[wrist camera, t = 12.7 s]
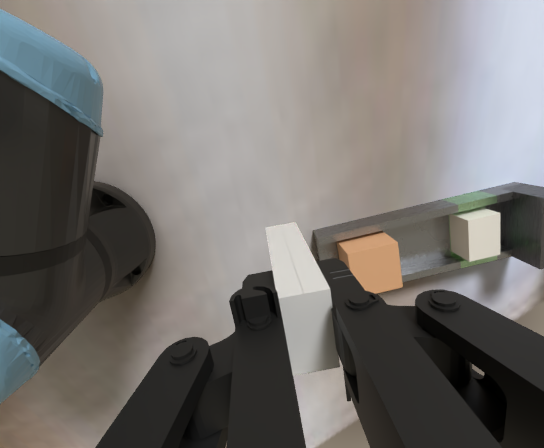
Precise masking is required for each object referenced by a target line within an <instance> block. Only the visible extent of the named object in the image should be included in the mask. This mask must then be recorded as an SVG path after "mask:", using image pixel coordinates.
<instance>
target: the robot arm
mask: <svg viewBox="0 0 544 448" xmlns="http://www.w3.org/2000/svg"><path fill="white" fill-rule="evenodd" d="M102 102H103V84H102V81H101V78H100V76H99V74H98V72H97V71H96V69H95V68H94V67H93V66H92V65H91V64H90V62H88V61H87V60H86V59H85V58H84V57H82V56H81V55H80V54H78V53H77V52H75V51H74V50H73V49H71V48H70V47H68V46H66V45H65V44H63V43H62V42H60V41H58V40H57V39H55V38H53V37H51V36H50V35H48V34H46V33H44V32H43V31H41V30H39V29H37V28H35V27H34V26H32V25H30V24H28V23H26V22H25V21H23V20H21V19H19V18H17V17H15V16H13V15H11V14H9V13H7V12H6V11H4V10H2V9H0V404H1V403H2V402H3V401H4V400H6V399H7V398H8V397H9V396H10V395H11V394H12V393H14V392H15V391H16V390H17V389H18V388H19V387H20V386H22V385H23V384H24V383H25V382H26V381H28V380H29V379H31V378H32V377H33V376H34V375H35V374H36V373H37V370H39V366H40V365H41V364H42V363H43V362H44V361H45V360H46V359H47V358H48V357H49V356H50V355H51V354H52V352H53V351H54V350H55V349H56V348H57V347H58V346H59V345H60V344H61V343H62V342H63V341H64V339H65V338H66V337H67V336H68V335H69V334H70V333H71V332H72V331H73V330H74V329H75V328H76V327H77V325H78V324H79V323H80V322H81V321H82V320H83V319H84V318H85V317H86V316H87V315H88V314H89V312H90V311H91V310H92V309H93V308H94V307H95V306H96V305H97V304H98V303H99V302H101V301H103V300H105V299H108V298H110V297H113V296H115V295H117V294H120V293H122V292H124V291H126V290H127V289H129V288H130V287H131V286H133V285H134V284H135V283H136V282H137V281H138V280H139V279H140V278H141V277H142V276H143V274H144V273H145V272H146V271H147V269H148V268H149V266H150V264H151V262H152V259H153V257H154V252H155V235H154V230H153V227H152V224H151V222H150V220H149V218H148V216H147V214H146V213H145V211H144V210H143V209H142V207H141V206H140V205H139V204H138V203H137V202H136V201H135V200H134V199H133V198H132V197H130V196H129V195H128V194H126V193H125V192H123V191H121V190H120V189H118V188H116V187H113V186H111V185H108V184H105V183H101V182H95V181H94V176H95V170H96V163H97V156H98V149H99V142H100V137H103V130H102V128H101V115H102ZM266 234H267V240H268V247H269V253H270V259H271V265H272V271H267V272H262V273H256V274H251V275H248V276H247V277H246V279H245V280H244V281H243V286H242V289H240V290H238V291H237V292H235V293H234V294H233V295H232V296H231V298H230V301H229V302H230V307H231V311H232V315H233V319H234V323H235V332H234V333H233V334H232V335H230V336H229V337H228V338H226V339H224V340H222V341H220V342H218V343H215V344H213V345H211V346H209V345H208V342H207V341H206V340H204V339H203V338H199V337H190V338H185V339H182V340H179V341H177V342H175V343H174V344H172V345H171V346H169V347H168V348H166V349H165V350H164V351H163V353H162V354H161V355H160V356H159V357H158V359H157V360H156V362H155V363H154V365H153V366H152V367H151V369H150V370H149V372H148V373H147V375H146V376H145V377H144V379H143V380H142V382H141V383H140V385H139V386H138V387H137V389H136V390H135V392H134V393H133V395H132V396H131V397H130V399H129V400H128V402H127V403H126V405H125V406H124V407H123V409H122V410H121V412H120V413H119V415H118V416H117V417H116V419H115V420H114V422H113V423H112V425H111V426H110V427H109V429H108V430H107V432H106V433H105V435H104V436H103V437H102V439H101V440H100V442H99V443H98V445H97V446H96V447H95V448H225V446H226V442H227V448H306V445H305V439H304V434H303V428H302V423H301V417H300V412H299V406H298V401H297V395H296V390H295V384H294V379H293V376H296V375H301V374H306V373H311V372H316V371H321V370H326V369H332V368H337V367H340V364H339V357H340V360H341V362H342V365H343V370H344V379H345V387H346V395H347V401H351V398H352V401H353V404H354V406H355V409H356V411H357V414H358V417H359V419H360V422H361V424H362V427H363V430H364V432H365V435H366V437H367V440H368V443H369V445H370V448H544V337H543V336H542V335H540V334H538V333H536V332H533V331H532V330H530V329H528V328H526V327H524V326H522V325H520V324H518V323H516V322H514V321H512V320H510V319H508V318H506V317H505V316H503V315H501V314H499V313H497V312H495V311H493V310H491V309H489V308H487V307H485V306H483V305H481V304H479V303H477V302H475V301H473V300H471V299H469V298H467V297H465V296H463V295H461V294H458V293H456V292H452V291H446V290H430V291H425V292H423V293H421V294H419V295H418V296H417V298H416V300H415V306H392V305H387V304H386V303H385V301H384V300H383V299H382V298H381V297H380V296H378V295H377V294H375V293H372V292H369V291H365V290H364V288H363V287H362V286H361V284H360V283H359V281H358V280H357V279H356V277H355V276H354V275H353V273H352V272H351V271H350V270H349V268H348V267H347V265H346V264H345V263H344V262H343V261H341V260H339V259H337V258H331V259H326V260H321V261H315V259H314V257H313V255H312V253H311V251H310V249H309V247H308V245H307V243H306V242H305V240H304V238H303V236H302V234H301V232H300V230H299V228H298V226H297V224H296V222H293V223H287V224H282V225H277V226H271V227H266ZM338 355H339V356H338ZM472 364H474V365H475V366H476V367H478V368H479V369H481V370H482V371H483V372H485V375H484V376H482V375H481V374H479V373H477V372H476V371H474V370H473V369H472Z"/></svg>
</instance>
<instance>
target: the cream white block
mask: <svg viewBox="0 0 544 448" xmlns="http://www.w3.org/2000/svg"><path fill="white" fill-rule="evenodd" d="M449 219H450V237H451V251H452V252H453V253H455V254H457V255H459V256H460V257H462V258H464V259H466V260H467V261H469V262H471V261H475V260H479V259H484V258H488V257H492V256H496V255H500V213H499V212H495V211H492V210H489V209H486V208H483V207H478V208H474V209H470V210H466V211H461V212H457V213H453V214H449Z"/></svg>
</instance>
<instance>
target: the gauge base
mask: <svg viewBox="0 0 544 448" xmlns="http://www.w3.org/2000/svg"><path fill="white" fill-rule="evenodd" d="M478 207H483V208H486V209H489V210H492V211H495V212H499V213H500V255H496V256H492V257H488V258H484V259H479V260H475V261H471V262H469V261H467V260H466V259H464V258H462V257H460V256H459V255H457V254H455V253H453V252H452V251H451V237H450V219H449V214H453V213H457V212H461V211H466V210H470V209H474V208H478ZM378 231H383V232H384V233H386V234H387V235H389V236H390V237H391V238H393V239H394V240H395V241H397V242H398V248H399V257H400V266H401V275H402V282H406V281H410V280H414V279H418V278H423V277H427V276H431V275H435V274H439V273H444V272H448V271H452V270H456V269H460V268H465V267H469V266H473V265H477V264H482V263H486V262H490V261H494V260H498V259H503V258H507V257H511V256H513V257H515V258H517V259H519V260H521V261H523V262H525V263H528V264H530V265H532V266H534V267H536V268H538V269H543V268H544V187H540V186H534V185H528V184H523V183H517V182H513V183H509V184H505V185H501V186H496V187H492V188H488V189H484V190H480V191H476V192H471V193H467V194H463V195H459V196H455V197H451V198H446V199H442V200H438V201H434V202H430V203H426V204H421V205H417V206H413V207H409V208H405V209H401V210H396V211H392V212H388V213H384V214H380V215H376V216H371V217H367V218H363V219H359V220H355V221H351V222H346V223H342V224H338V225H334V226H330V227H326V228H321V229H317V230H313V233H314V238H315V243H316V248H317V253H318V258H319V261H321V260H326V259H331V258H337V259H339V254H338V248H337V243H336V241H340V240H345V239H349V238H353V237H357V236H361V235H365V234H370V233H374V232H378ZM339 260H340V259H339Z"/></svg>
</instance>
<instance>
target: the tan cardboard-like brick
mask: <svg viewBox="0 0 544 448" xmlns="http://www.w3.org/2000/svg"><path fill="white" fill-rule="evenodd" d="M336 243H337V248H338V254H339V259H340V260H341V261H343V262H344V263H345V264H346V265H347V267H348V268H349V270H350V271H351V272H352V273H353V275H354V276H355V277H356V279H357V280H358V281H359V283H360V284H361V286H362V287H363V288H364V290H365V291H369V292H372V293H375V294H376V293H380V292H385V291H389V290H393V289H397V288H401V287H403V284H402V275H401V266H400V257H399V248H398V242H397V241H395V240H394V239H393V238H391V237H390V236H389V235H387V234H386V233H384V232H383V231H378V232H374V233H370V234H365V235H361V236H357V237H353V238H349V239H345V240H340V241H336Z"/></svg>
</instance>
